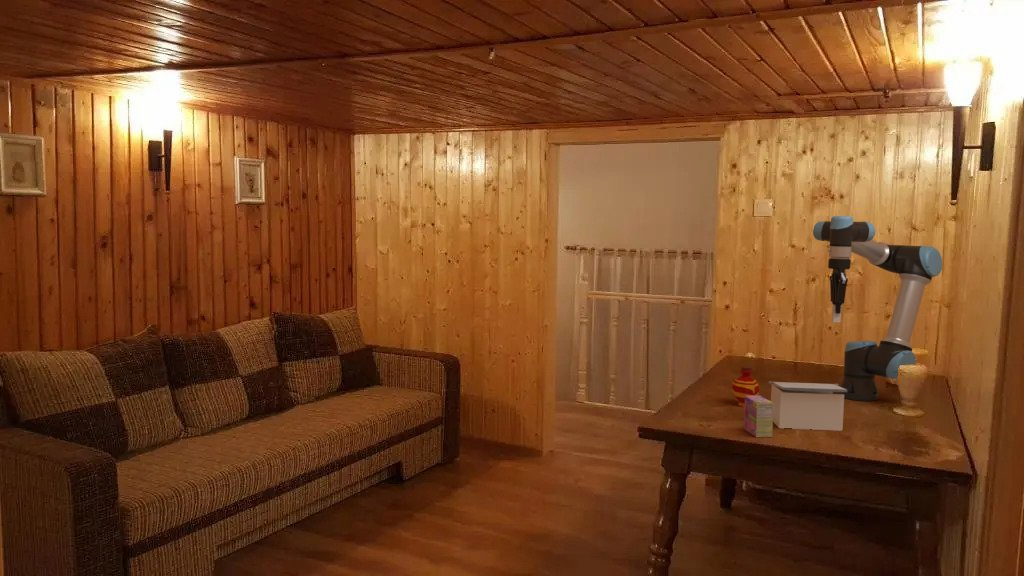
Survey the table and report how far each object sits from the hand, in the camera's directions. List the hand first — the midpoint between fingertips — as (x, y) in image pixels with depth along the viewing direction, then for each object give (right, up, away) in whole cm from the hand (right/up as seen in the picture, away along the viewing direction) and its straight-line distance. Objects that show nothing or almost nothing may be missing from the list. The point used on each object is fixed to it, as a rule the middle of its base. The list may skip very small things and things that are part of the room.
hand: (836, 321), depth 282 cm
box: (-37, -37, -26) cm, 58 cm away
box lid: (-16, -22, -15) cm, 31 cm away
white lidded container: (-16, -36, -13) cm, 41 cm away
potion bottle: (-30, -33, +14) cm, 46 cm away
